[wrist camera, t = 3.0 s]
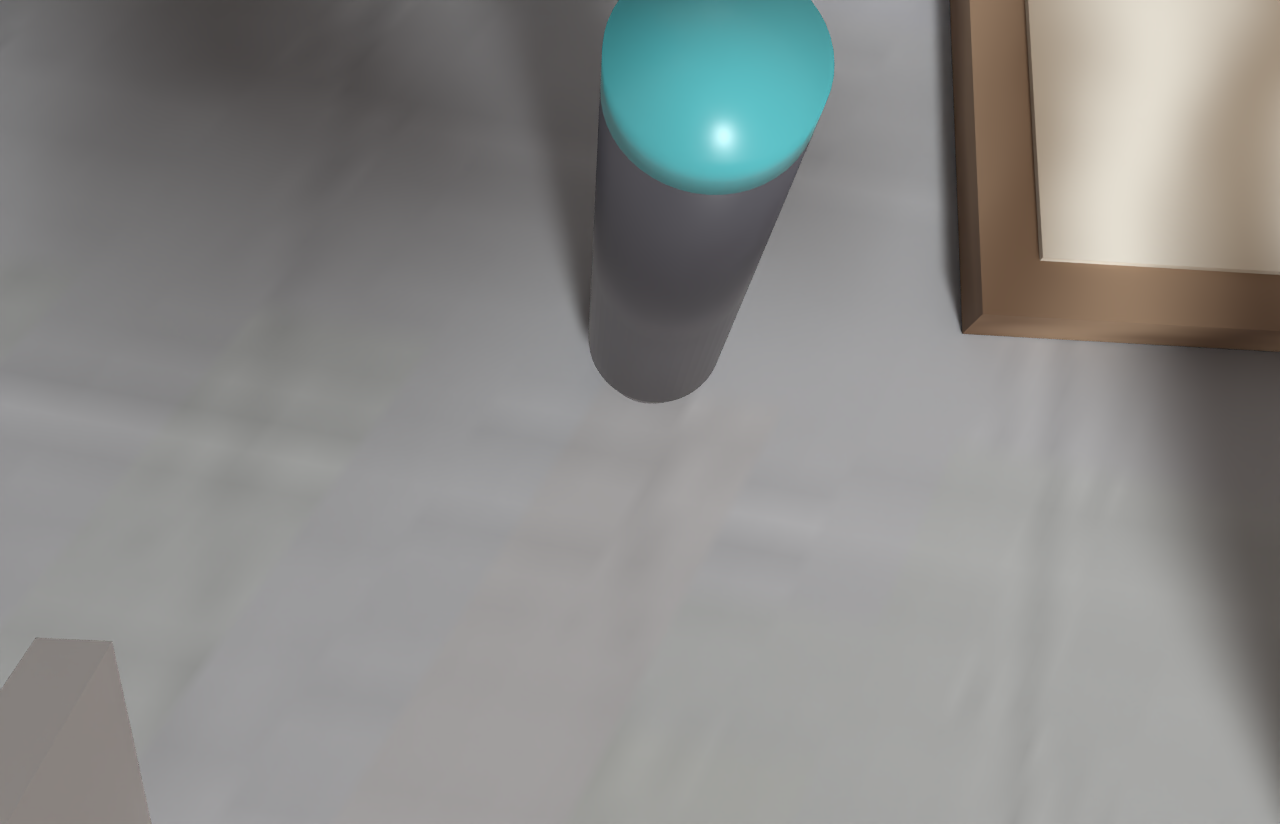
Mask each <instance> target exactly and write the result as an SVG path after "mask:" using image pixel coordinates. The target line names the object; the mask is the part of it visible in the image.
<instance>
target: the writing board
mask: <svg viewBox="0 0 1280 824" xmlns="http://www.w3.org/2000/svg"><path fill="white" fill-rule="evenodd" d="M950 15H951V42H952V69H953V96H954V123H955V150H956V177H957V204H958V231H959V258H960V284H961V311H962V334H976V335H994V336H1011V337H1029V338H1047V339H1064V340H1082V341H1100V342H1117V343H1135V344H1152V345H1170V346H1188V347H1205V348H1223V349H1241V350H1258V351H1276V352H1280V0H950Z"/></svg>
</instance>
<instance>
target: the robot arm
mask: <svg viewBox="0 0 1280 824" xmlns="http://www.w3.org/2000/svg"><path fill="white" fill-rule="evenodd" d="M0 824H151V819H150V815H149V810H148V805H147V801H146V796H145V791H144V787H143V782H142V777H141V773H140V768H139V764H138V759H137V754H136V750H135V745H134V740H133V736H132V731H131V726H130V722H129V717H128V712H127V708H126V703H125V699H124V694H123V689H122V685H121V680H120V675H119V671H118V666H117V661H116V657H115V652H114V648H113V643H112V641H96V640H73V639H51V638H35V640H34V641H33V642H32V644H31V645H30V647H29V648H28V650H27V651H26V653H25V654H24V656H23V657H22V659H21V660H20V662H19V663H18V665H17V666H16V668H15V669H14V671H13V672H12V674H11V675H10V677H9V678H8V680H7V681H6V683H5V684H4V686H3V687H2V689H1V690H0Z"/></svg>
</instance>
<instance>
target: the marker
mask: <svg viewBox="0 0 1280 824" xmlns="http://www.w3.org/2000/svg"><path fill="white" fill-rule="evenodd" d="M833 77H834V51H833V46H832V42H831V37H830V34H829V32H828V29H827V26H826V24H825V22H824V20H823V18H822V16H821V15H820V13H819V11H818V10H817V8H816V7H815V5H814V4H813V3H812V1H811V0H619V1H618V2H617V4H616V5H615V7H614V9H613V11H612V13H611V15H610V17H609V19H608V22H607V25H606V29H605V32H604V38H603V46H602V63H601V85H600V106H599V127H598V149H597V170H596V191H595V213H594V234H593V255H592V277H591V298H590V319H589V347H590V353H591V356H592V359H593V362H594V364H595V366H596V368H597V370H598V371H599V373H600V374H601V376H602V377H603V378H604V379H605V380H606V381H607V382H608V383H609V384H610V385H611V386H612V387H613V388H615V389H616V390H617V391H618V392H620V393H621V394H623V395H624V396H626V397H628V398H630V399H632V400H635V401H638V402H642V403H663V402H667V401H672V400H676V399H679V398H681V397H684V396H686V395H688V394H690V393H691V392H693V391H695V390H696V389H697V388H698V387H700V386H701V385H702V384H703V383H704V382H705V381H706V380H707V378H708V377H709V376H710V374H711V373H712V371H713V369H714V367H715V365H716V363H717V361H718V358H719V356H720V353H721V351H722V349H723V346H724V344H725V341H726V339H727V337H728V334H729V332H730V330H731V327H732V325H733V322H734V320H735V318H736V315H737V313H738V311H739V308H740V306H741V303H742V301H743V299H744V296H745V294H746V292H747V289H748V287H749V284H750V282H751V280H752V277H753V275H754V273H755V270H756V268H757V265H758V263H759V261H760V258H761V256H762V253H763V251H764V249H765V246H766V244H767V242H768V239H769V237H770V234H771V232H772V230H773V227H774V225H775V223H776V220H777V218H778V215H779V213H780V211H781V208H782V206H783V204H784V201H785V199H786V196H787V194H788V192H789V189H790V187H791V185H792V182H793V180H794V177H795V175H796V173H797V170H798V168H799V165H800V163H801V161H802V158H803V156H804V154H805V151H806V149H807V146H808V144H809V142H810V139H811V137H812V135H813V132H814V130H815V127H816V125H817V123H818V120H819V118H820V116H821V113H822V111H823V108H824V106H825V104H826V101H827V98H828V96H829V93H830V91H831V86H832V82H833Z"/></svg>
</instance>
